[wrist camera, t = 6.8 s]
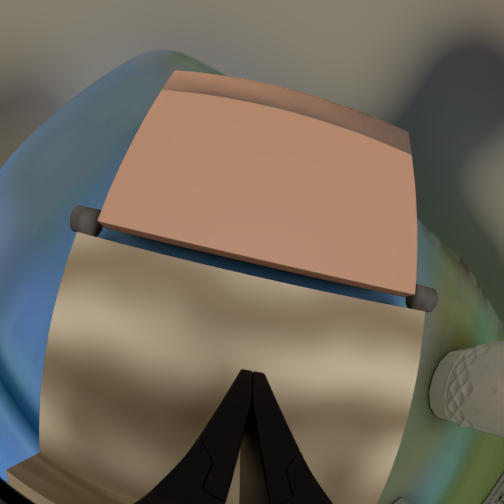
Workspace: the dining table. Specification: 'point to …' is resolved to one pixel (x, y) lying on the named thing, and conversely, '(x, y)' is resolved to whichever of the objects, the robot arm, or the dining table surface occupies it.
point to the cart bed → (210, 372)
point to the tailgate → (271, 182)
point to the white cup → (471, 388)
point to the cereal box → (496, 493)
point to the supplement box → (401, 501)
